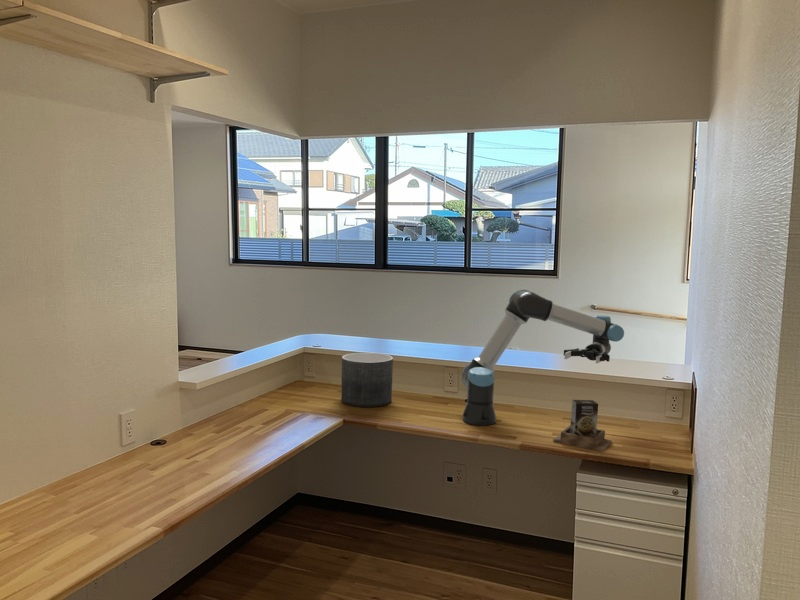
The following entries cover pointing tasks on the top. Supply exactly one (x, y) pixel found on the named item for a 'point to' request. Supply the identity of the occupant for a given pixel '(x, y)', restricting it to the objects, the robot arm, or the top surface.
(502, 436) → the top surface
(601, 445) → the stand
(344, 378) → the planter
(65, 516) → the top surface
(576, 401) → the coffee box
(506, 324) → the robot arm
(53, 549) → the top surface
